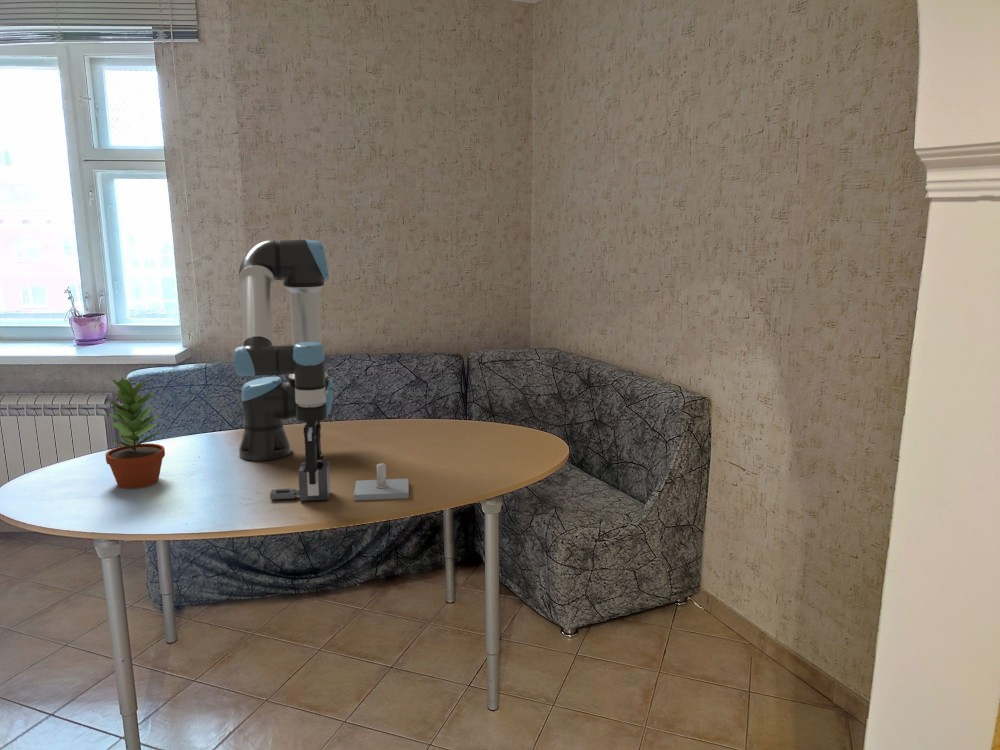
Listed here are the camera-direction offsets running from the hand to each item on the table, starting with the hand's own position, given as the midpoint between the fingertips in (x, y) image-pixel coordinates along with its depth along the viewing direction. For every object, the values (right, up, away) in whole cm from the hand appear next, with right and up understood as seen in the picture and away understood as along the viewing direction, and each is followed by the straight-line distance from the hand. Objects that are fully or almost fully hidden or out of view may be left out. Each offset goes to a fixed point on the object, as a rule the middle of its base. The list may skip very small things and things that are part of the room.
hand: (315, 489), depth 196 cm
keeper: (+17, -1, +4) cm, 17 cm away
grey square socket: (-4, -2, 0) cm, 4 cm away
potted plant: (-51, 0, +11) cm, 52 cm away
